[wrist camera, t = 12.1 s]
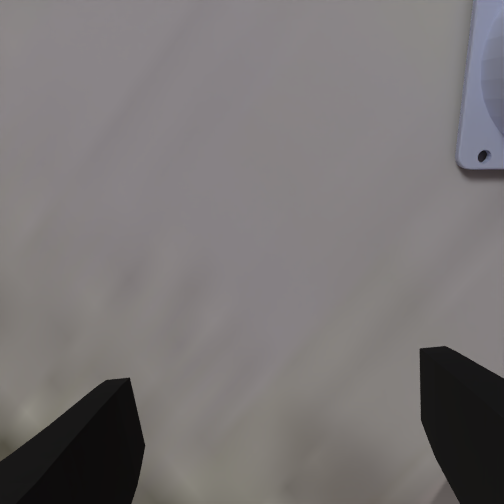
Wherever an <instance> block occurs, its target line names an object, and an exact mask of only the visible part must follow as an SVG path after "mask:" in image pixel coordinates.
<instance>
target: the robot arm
mask: <svg viewBox="0 0 504 504" xmlns="http://www.w3.org/2000/svg"><path fill="white" fill-rule="evenodd" d="M483 150H485V151H486V153H487V157H486V159H485V160H484V161H483V162H479V161H478V155H479V153H480V152H481V151H483ZM455 159H456V162H457V164H458V165H459V166H460V167H461V168H464V169H469V170H485V169H504V0H473V8H472V17H471V25H470V34H469V43H468V51H467V60H466V68H465V77H464V85H463V94H462V103H461V111H460V120H459V128H458V137H457V145H456V154H455ZM420 393H421V421H422V424H423V427H424V429H425V432H426V435H427V437H428V440H429V443H430V445H431V448H432V450H433V453H434V455H435V458H436V460H437V462H438V463H439V465H440V467H441V469H442V471H443V473H444V475H445V477H446V478H447V480H448V482H449V484H450V486H451V488H452V490H453V491H454V493H455V495H456V497H457V499H458V501H459V502H460V504H504V378H502V377H500V376H498V375H497V374H495V373H493V372H491V371H490V370H488V369H486V368H484V367H483V366H481V365H479V364H477V363H476V362H474V361H472V360H470V359H469V358H467V357H465V356H463V355H461V354H460V353H458V352H456V351H454V350H452V349H450V348H448V347H446V346H441V347H431V348H421V349H420ZM144 449H145V443H144V438H143V434H142V430H141V425H140V421H139V416H138V412H137V407H136V403H135V398H134V394H133V390H132V385H131V381H130V378H122V379H112V380H106V381H104V382H103V383H101V384H100V385H98V386H97V387H96V388H94V389H93V390H92V391H91V392H89V393H88V394H87V395H86V396H84V397H83V398H82V399H81V400H80V401H78V402H77V403H76V404H75V405H73V406H72V407H71V408H70V409H69V410H67V411H66V412H65V413H64V414H62V415H61V416H60V417H59V418H57V419H56V420H55V421H54V422H53V423H51V424H50V425H49V426H48V427H46V428H45V429H44V430H42V431H41V432H40V433H38V434H37V435H36V436H34V437H33V438H32V439H30V440H29V441H28V442H26V443H25V444H24V445H22V446H21V447H20V448H18V449H17V450H16V451H14V452H13V453H12V454H10V455H9V456H8V457H6V458H5V459H3V460H2V461H0V504H131V503H132V500H133V497H134V494H135V491H136V488H137V485H138V480H139V475H140V471H141V466H142V460H143V455H144Z"/></svg>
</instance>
